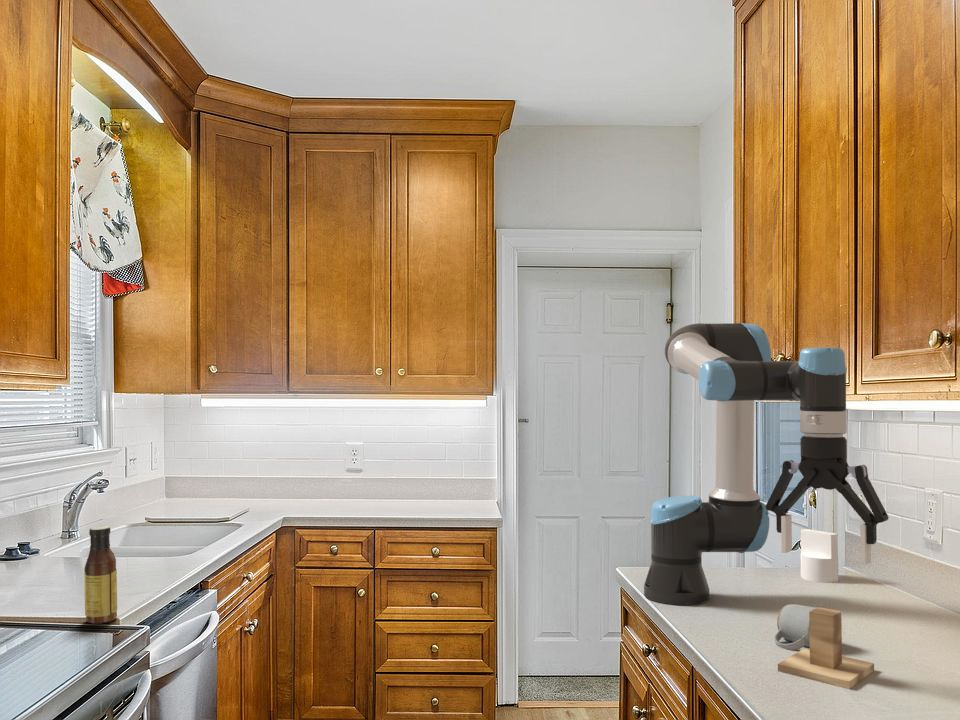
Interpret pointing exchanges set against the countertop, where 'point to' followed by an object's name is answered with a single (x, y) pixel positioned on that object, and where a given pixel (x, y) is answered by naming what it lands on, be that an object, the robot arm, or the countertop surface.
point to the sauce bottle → (100, 578)
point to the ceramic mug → (794, 626)
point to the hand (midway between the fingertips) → (825, 557)
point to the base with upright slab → (819, 556)
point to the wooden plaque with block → (826, 654)
